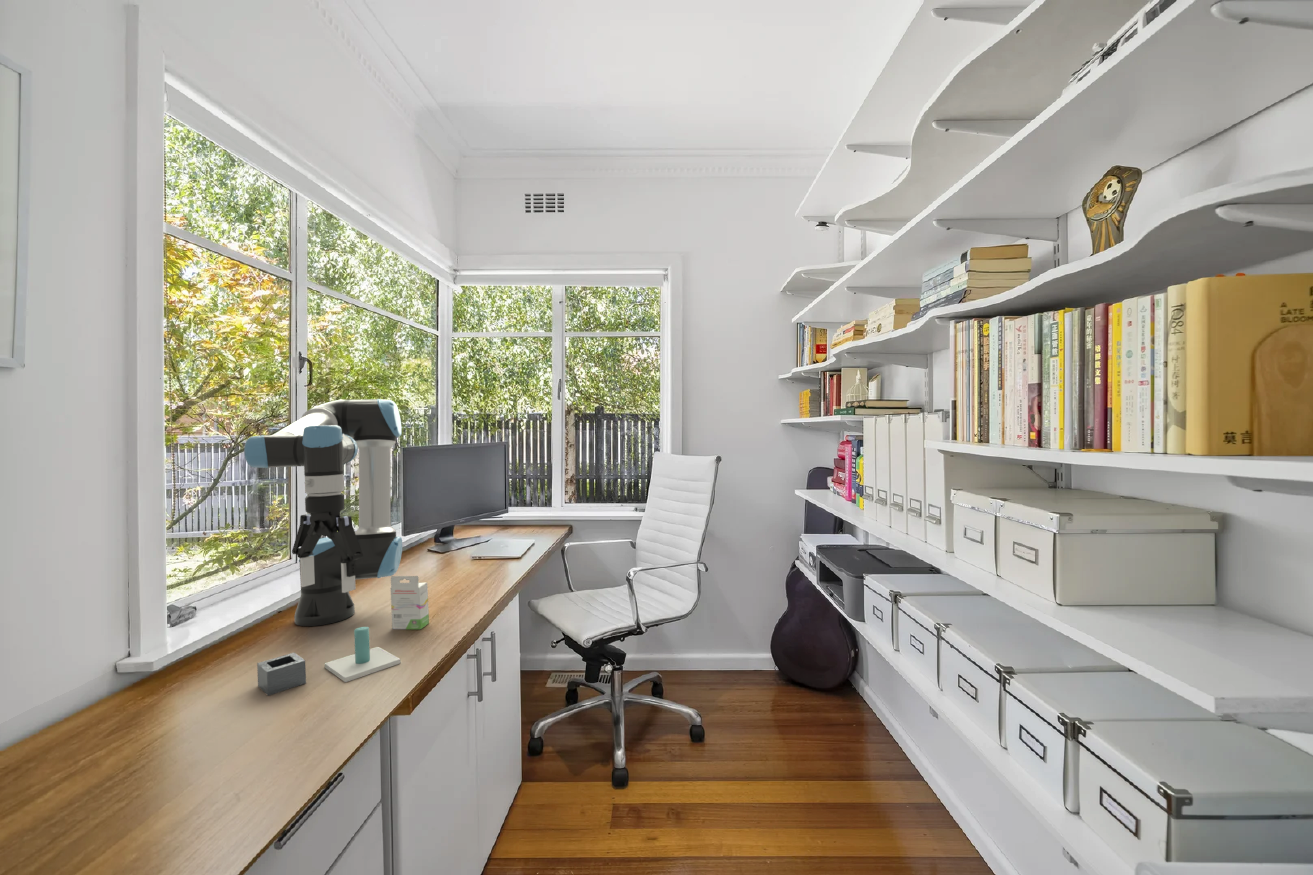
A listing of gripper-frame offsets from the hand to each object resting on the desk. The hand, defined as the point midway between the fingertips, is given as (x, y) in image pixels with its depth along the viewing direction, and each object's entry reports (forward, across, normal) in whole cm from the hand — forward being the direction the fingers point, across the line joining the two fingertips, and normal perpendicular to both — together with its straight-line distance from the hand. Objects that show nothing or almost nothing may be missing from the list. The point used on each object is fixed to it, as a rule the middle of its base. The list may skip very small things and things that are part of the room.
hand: (327, 588), depth 123 cm
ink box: (+19, -7, +28) cm, 35 cm away
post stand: (+19, +3, +6) cm, 20 cm away
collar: (+19, -5, -8) cm, 21 cm away
